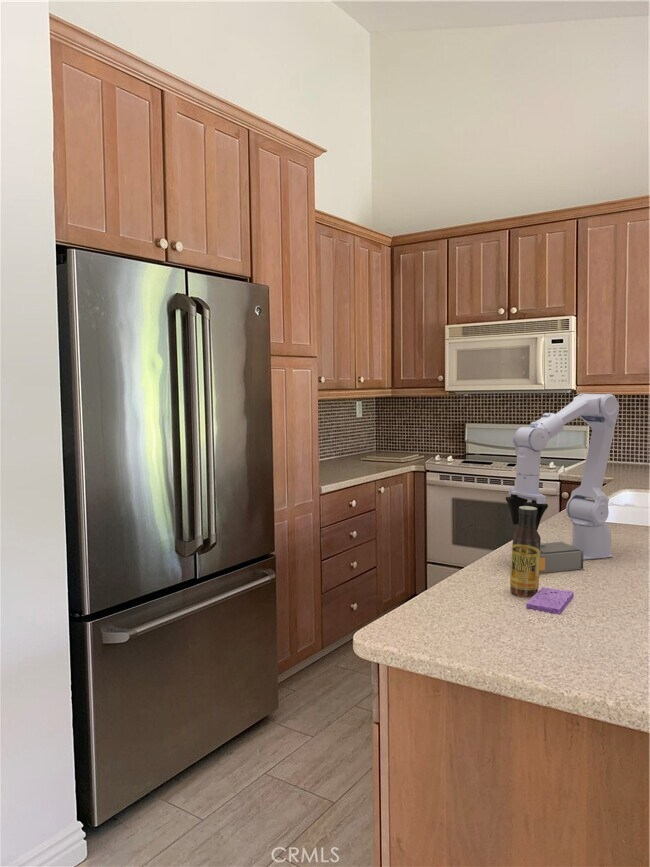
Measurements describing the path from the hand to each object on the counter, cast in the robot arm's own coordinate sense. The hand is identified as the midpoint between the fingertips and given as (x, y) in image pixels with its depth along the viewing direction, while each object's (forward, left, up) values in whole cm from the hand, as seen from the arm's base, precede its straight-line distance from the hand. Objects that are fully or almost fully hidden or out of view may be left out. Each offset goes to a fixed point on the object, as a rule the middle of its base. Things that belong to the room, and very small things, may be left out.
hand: (524, 527), depth 167 cm
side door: (-7, +5, -10) cm, 13 cm away
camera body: (-8, 0, -11) cm, 13 cm away
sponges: (+8, +24, -11) cm, 28 cm away
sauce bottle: (+10, +17, -11) cm, 23 cm away
